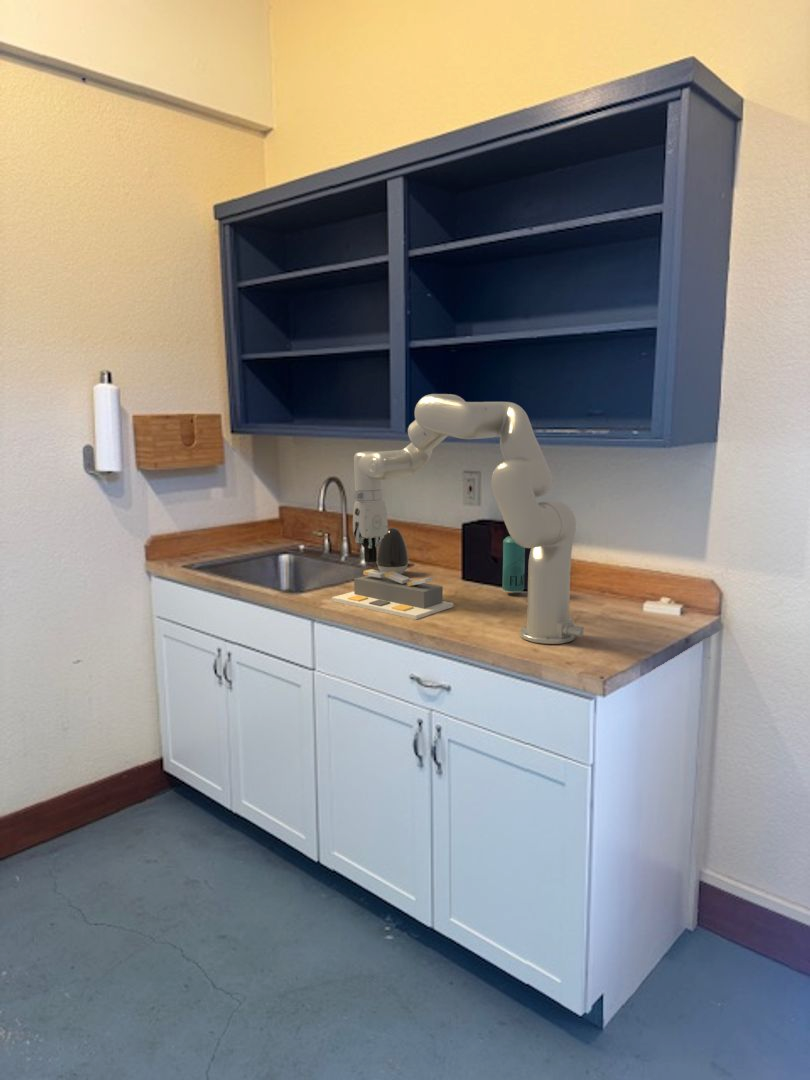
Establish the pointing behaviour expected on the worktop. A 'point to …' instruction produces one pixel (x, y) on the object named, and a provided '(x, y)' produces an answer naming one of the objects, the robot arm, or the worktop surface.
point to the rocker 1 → (374, 573)
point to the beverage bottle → (513, 565)
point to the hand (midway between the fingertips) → (370, 561)
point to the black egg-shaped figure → (392, 552)
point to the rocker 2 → (420, 581)
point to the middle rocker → (397, 577)
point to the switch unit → (395, 597)
